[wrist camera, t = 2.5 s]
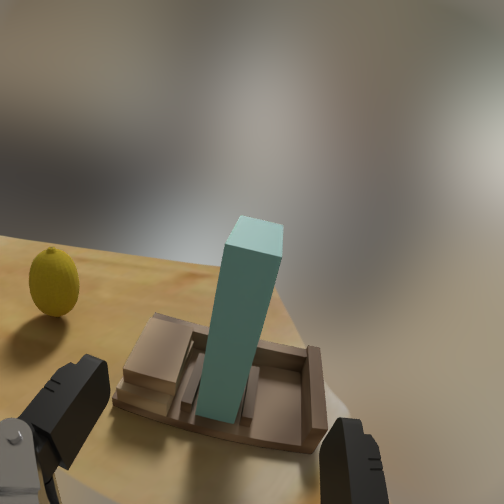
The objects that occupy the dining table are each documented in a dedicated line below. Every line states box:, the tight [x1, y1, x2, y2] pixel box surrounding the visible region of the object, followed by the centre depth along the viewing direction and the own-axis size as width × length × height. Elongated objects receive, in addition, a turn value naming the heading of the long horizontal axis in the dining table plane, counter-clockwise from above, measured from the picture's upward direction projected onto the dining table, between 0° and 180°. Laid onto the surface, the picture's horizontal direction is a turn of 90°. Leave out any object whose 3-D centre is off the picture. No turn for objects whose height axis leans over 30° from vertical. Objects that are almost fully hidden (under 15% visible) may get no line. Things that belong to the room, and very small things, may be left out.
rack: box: [112, 312, 328, 454], centre depth 25 cm, size 16×10×4 cm, turn 84°
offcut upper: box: [123, 317, 194, 396], centre depth 24 cm, size 4×7×2 cm, turn 178°
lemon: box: [29, 247, 79, 317], centre depth 27 cm, size 6×6×8 cm
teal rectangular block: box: [195, 215, 283, 424], centre depth 22 cm, size 3×6×14 cm, turn 174°
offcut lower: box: [116, 341, 194, 416], centre depth 24 cm, size 4×8×2 cm, turn 174°
